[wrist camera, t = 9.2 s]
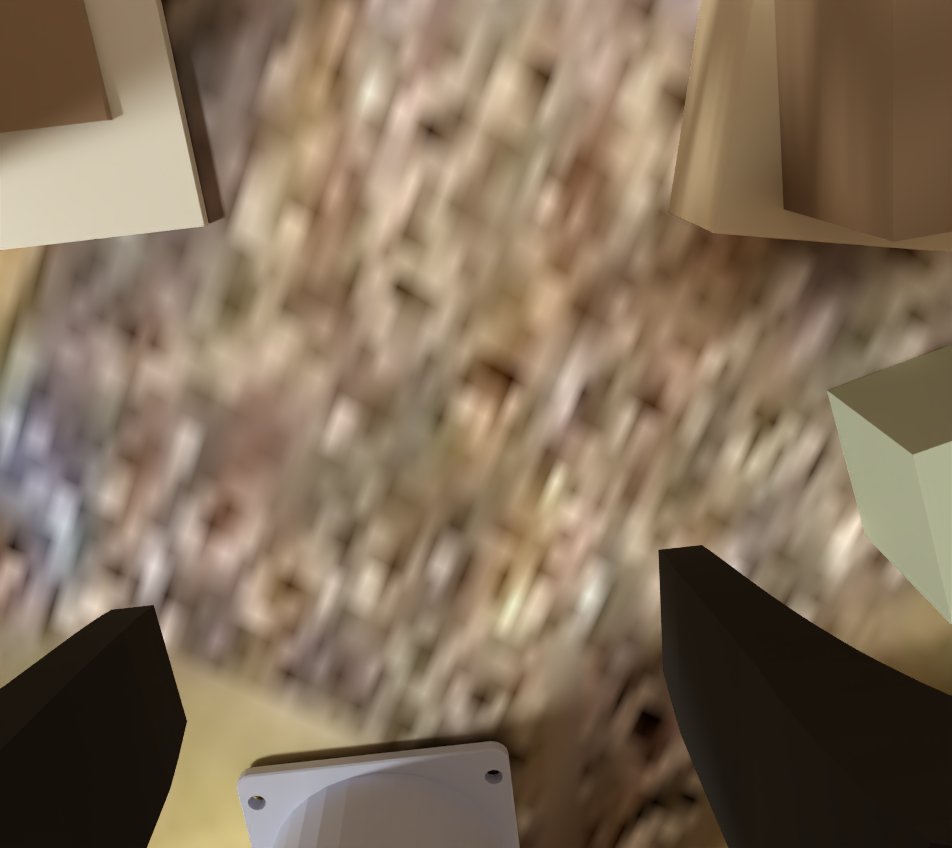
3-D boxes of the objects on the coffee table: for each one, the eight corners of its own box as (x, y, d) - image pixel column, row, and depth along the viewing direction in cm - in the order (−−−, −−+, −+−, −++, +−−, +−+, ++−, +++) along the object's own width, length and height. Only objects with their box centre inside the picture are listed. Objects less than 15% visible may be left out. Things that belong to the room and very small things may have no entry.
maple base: (909, 230, 21) (1007, 257, 17) (666, 211, 21) (713, 233, 17) (976, -45, 19) (1104, -83, 15) (709, -71, 19) (773, -116, 15)
